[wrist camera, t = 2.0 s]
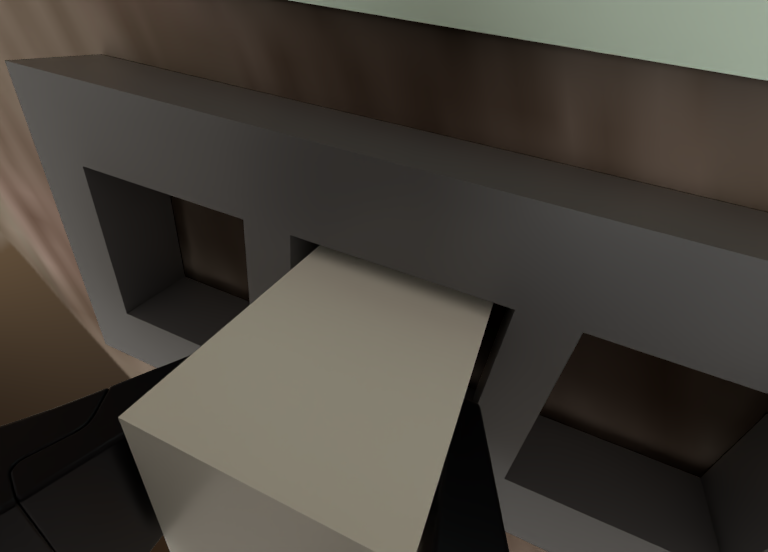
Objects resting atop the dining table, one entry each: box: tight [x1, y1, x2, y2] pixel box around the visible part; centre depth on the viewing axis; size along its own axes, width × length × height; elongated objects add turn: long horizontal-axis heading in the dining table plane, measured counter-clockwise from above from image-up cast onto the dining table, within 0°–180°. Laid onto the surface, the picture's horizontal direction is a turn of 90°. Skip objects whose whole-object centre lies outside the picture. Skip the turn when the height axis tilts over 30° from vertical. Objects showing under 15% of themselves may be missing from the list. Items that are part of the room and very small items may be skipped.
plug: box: [118, 245, 493, 552], centre depth 9 cm, size 4×4×7 cm
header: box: [5, 54, 768, 552], centre depth 10 cm, size 20×9×2 cm, turn 82°
